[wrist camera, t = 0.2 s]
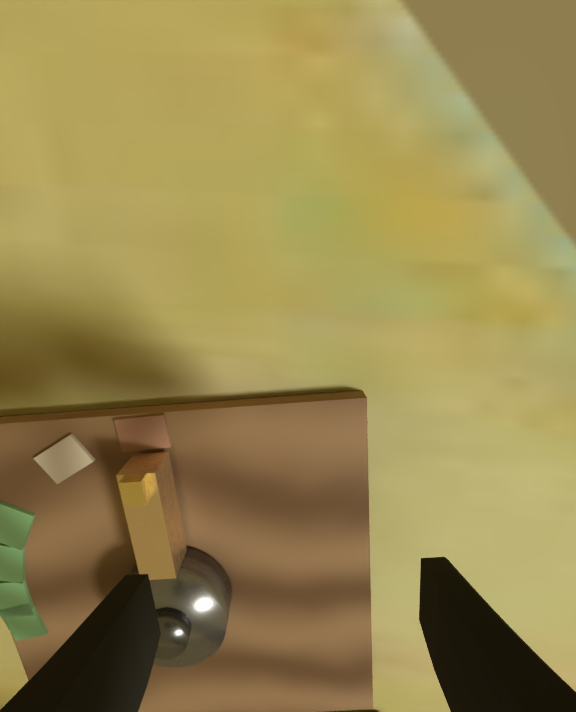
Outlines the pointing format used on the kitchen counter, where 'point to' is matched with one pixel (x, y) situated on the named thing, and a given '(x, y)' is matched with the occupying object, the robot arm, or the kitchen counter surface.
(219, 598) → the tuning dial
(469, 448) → the kitchen counter surface
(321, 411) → the brown flat square slab
